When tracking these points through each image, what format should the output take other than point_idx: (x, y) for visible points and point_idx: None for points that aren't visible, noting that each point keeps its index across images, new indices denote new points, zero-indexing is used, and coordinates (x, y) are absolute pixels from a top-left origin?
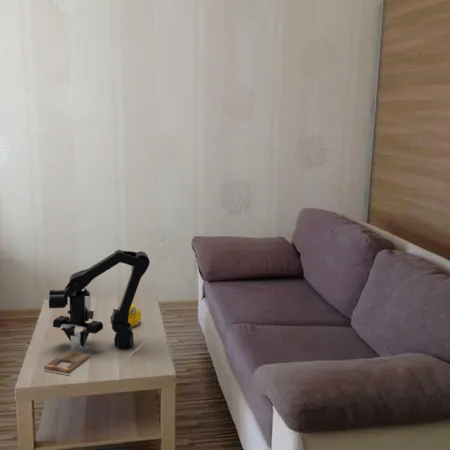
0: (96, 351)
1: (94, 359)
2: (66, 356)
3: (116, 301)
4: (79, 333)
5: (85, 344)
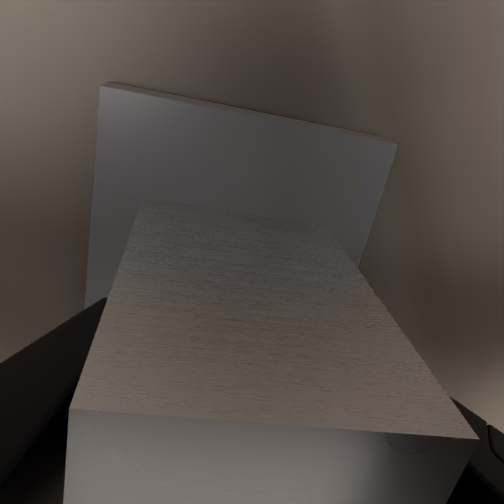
0: (483, 212)
1: (483, 418)
2: None
3: None
4: (265, 494)
5: (344, 259)
